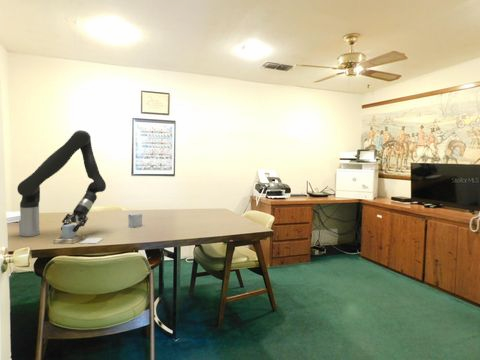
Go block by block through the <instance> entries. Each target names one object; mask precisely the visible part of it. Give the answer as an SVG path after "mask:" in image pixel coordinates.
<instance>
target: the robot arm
mask: <svg viewBox="0 0 480 360" xmlns="http://www.w3.org/2000/svg"><path fill="white" fill-rule="evenodd" d="M78 150H80V152H81V155H82V161H83V166H84V169H85V172H86V175H87V177H88V178H89V179H91V180H92V181H91V182H90V183H89V184H88V185H87V186H88V187H87V188H86V191H85V193H84V195H83V197H82V198H81V199H80V201H79V202H78V203H77V205H76V207H75V208H74V209H73V211H72V214H70V213H67V214H66V215H65V217H64V218H63V219H62V220H61V223H62V226H63V225H67V224H75V223H76V224H75V227H74V229H73V232H75V233H77V232H78V230H79V229H80V228H81V227H84V226H85V224H86V223H87V222H88V220H89V217H88V216H87V215H88V214H89V212H90V211H91V209H92V207H93V205H94V204H95V203H96V201H97V199H98V197H97V193H103V192H104V191H106V188H107V183H106V182H105V180H104V178H103V176H102V175H101V173H100V170H99V166H98V165H97V164H98V163H97V162H96V158H95V155H94V151H93V147H92V140H91V135H90V133H89V132H87V131H85V130H80V129H78V130H76V131H74V133H72V135H71V136H70V137H69V138H68V140H67V141H66V142H64V144H63V145H62V146H60V147H59V148H57V149H56V150H55V151H54V152H53V153H51V155H50V156H48V157H47V158H45V160H44V161H43V162H42V163H41V164H40V165H39V166H38V167H37V168H36V169H35V171H34V172H32V173H31V174H30V175H28V176H27V177H26V178H25V179H24V180H22V181H21V182H19V184H18V185H17V189H16V190H17V192H18V194H19V195H20V196H21V201H20V202H19V208H20V209H19V210H20V211H19V212H20V214H19V215H20V219H19V220H18V234H19V237H27V238H28V237H34V236H35V237H36V236H39V235H40V231H41V230H40V202H41V201H40V200H41V198H40V197H41V187H40V186H41V185H42V184H43V183H44V182H45V181H46V180H48V179H49V178H51V177H53V176H54V175H55V174H57V173H58V172H60V170H61V169H63V168H64V166H66V164H67V163H68V162H69V161H70V160H71V158H72V156H73V155H74V154H75V153H76V152H77V151H78ZM62 226H61V227H60V230H61V231H62Z"/></svg>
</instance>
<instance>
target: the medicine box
mask: <svg viewBox="0 0 480 360" xmlns="http://www.w3.org/2000/svg"><path fill="white" fill-rule="evenodd" d="M127 217H128V218H127V219H128V228H130V229H133V228H138V227H142V226H143V214H142V213H138V212H137V213H131V214H128V216H127Z"/></svg>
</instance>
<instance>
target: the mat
mask: <svg viewBox="0 0 480 360" xmlns="http://www.w3.org/2000/svg"><path fill="white" fill-rule="evenodd" d="M103 239H104V237H87V238H85V239H84V240H82V241H81V242H79V244H81V243H83V245H84V243H88V244H89V245H91V244H98V243H100V242H101V241H103Z"/></svg>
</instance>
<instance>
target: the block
mask: <svg viewBox="0 0 480 360" xmlns="http://www.w3.org/2000/svg"><path fill="white" fill-rule="evenodd" d="M75 226H76V224H73V223H71V224H67V225H63V224H62V225H61V227H62V230H61V233H62V234H61V235H62V239H74V238H75V234H76V232H73V229H74V227H75Z"/></svg>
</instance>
